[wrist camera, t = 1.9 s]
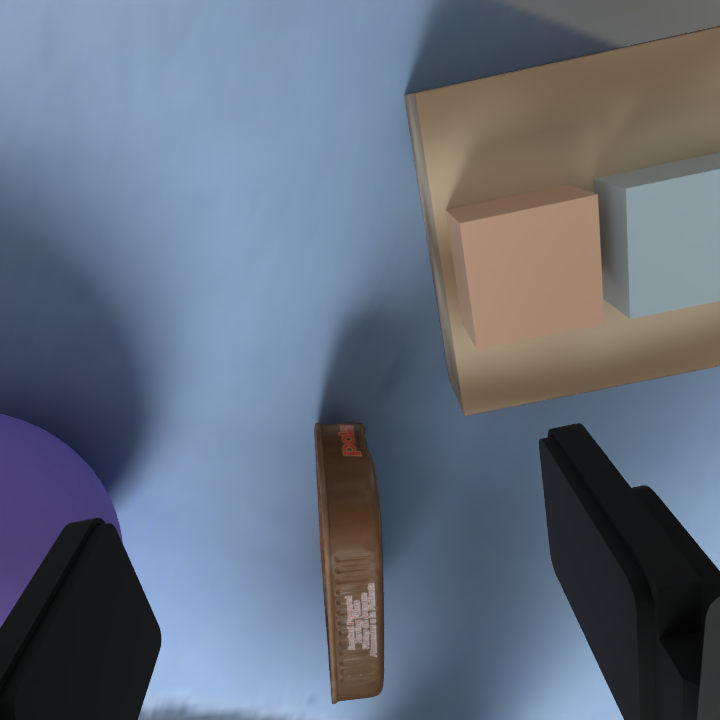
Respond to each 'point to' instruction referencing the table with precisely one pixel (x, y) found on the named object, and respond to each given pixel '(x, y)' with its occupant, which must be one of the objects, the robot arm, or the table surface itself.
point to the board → (556, 168)
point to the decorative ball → (40, 501)
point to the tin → (350, 560)
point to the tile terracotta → (528, 265)
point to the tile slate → (661, 236)
